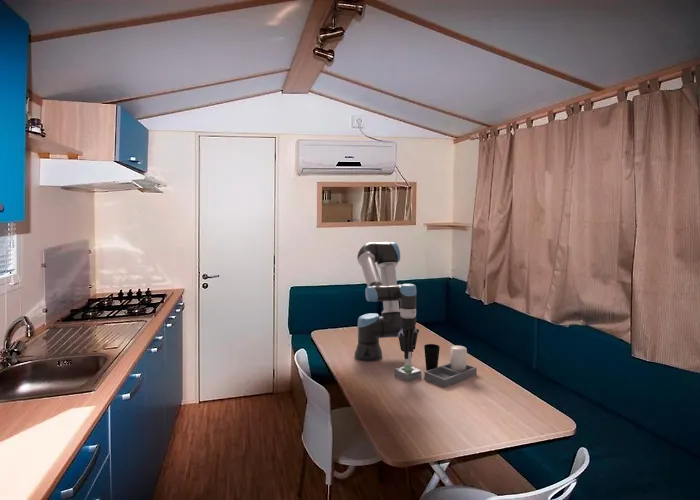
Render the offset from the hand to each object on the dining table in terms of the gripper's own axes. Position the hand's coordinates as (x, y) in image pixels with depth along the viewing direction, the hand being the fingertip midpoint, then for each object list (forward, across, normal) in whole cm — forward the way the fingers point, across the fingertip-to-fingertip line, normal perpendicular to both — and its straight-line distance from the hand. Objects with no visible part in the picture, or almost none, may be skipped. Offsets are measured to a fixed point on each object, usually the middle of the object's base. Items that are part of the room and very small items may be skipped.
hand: (408, 364), depth 200 cm
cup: (+6, +16, -1) cm, 17 cm away
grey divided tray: (+6, +16, -13) cm, 21 cm away
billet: (+5, +22, -13) cm, 26 cm away
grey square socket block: (+6, 0, 0) cm, 6 cm away
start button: (+4, 0, 0) cm, 4 cm away
